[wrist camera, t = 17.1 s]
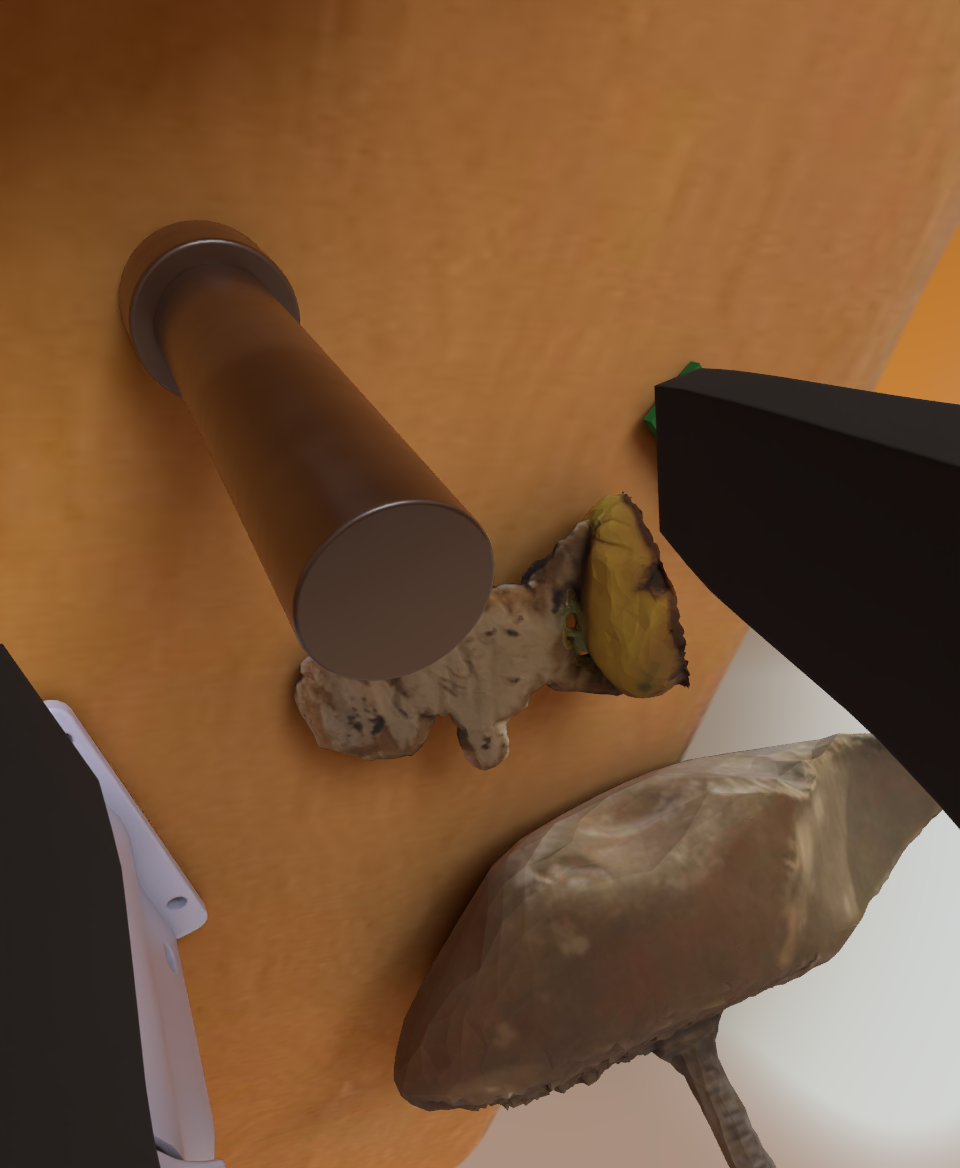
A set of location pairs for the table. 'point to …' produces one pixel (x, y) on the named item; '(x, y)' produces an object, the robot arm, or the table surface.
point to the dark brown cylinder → (306, 459)
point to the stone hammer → (658, 925)
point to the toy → (523, 649)
